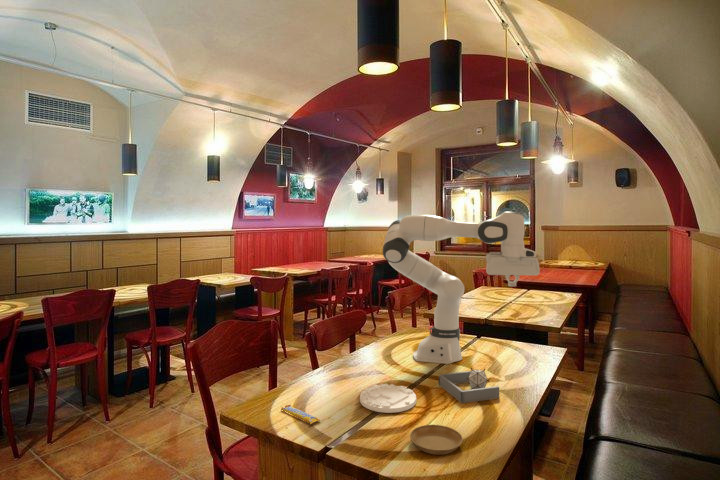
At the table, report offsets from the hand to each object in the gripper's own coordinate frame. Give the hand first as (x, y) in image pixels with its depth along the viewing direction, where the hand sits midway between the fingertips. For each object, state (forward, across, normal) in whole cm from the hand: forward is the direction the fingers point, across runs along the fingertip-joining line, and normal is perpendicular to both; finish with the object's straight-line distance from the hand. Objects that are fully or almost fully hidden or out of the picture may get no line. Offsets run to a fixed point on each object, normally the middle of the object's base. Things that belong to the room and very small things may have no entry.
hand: (512, 286), depth 175 cm
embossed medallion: (+38, -48, -30) cm, 68 cm away
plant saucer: (+38, -32, -58) cm, 76 cm away
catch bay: (+37, -18, -17) cm, 45 cm away
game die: (+37, -15, -16) cm, 43 cm away
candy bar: (+38, -75, -45) cm, 96 cm away
